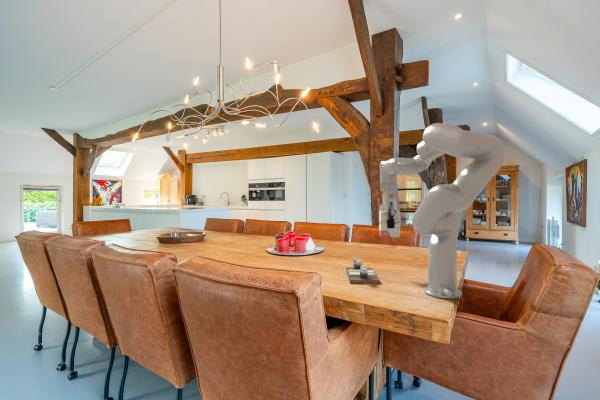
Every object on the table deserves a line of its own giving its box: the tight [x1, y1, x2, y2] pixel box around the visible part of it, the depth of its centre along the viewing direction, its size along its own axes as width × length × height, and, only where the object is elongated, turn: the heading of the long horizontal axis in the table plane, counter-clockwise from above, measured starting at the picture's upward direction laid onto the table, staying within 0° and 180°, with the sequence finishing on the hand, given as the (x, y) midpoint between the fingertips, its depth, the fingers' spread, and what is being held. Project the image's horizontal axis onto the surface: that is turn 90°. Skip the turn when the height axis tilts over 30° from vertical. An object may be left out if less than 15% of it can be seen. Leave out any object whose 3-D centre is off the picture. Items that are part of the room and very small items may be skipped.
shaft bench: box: [345, 257, 380, 285], centre depth 131 cm, size 21×12×6 cm, turn 175°
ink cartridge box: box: [378, 203, 401, 238], centre depth 133 cm, size 9×5×15 cm, turn 84°
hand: (389, 227), depth 133 cm, fingers closed on ink cartridge box, 5 cm apart
